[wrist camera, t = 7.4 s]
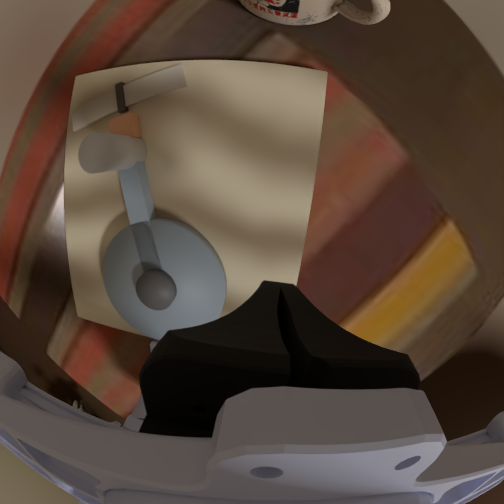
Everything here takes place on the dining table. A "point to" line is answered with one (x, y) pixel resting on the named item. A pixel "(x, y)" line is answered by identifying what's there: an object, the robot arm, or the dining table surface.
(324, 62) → the dining table surface
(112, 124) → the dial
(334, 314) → the dining table surface
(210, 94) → the cream flat board
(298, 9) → the teacup with lid
